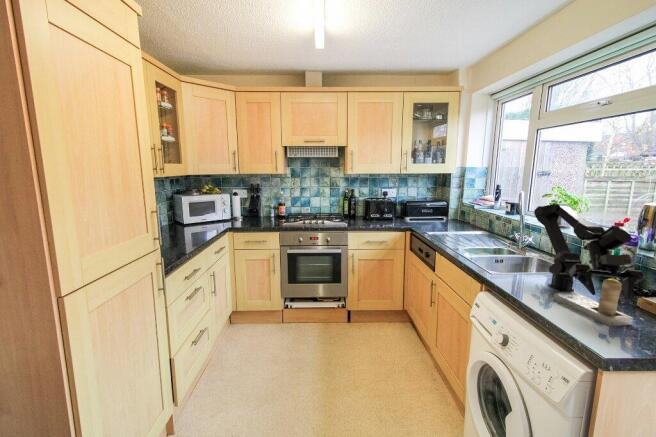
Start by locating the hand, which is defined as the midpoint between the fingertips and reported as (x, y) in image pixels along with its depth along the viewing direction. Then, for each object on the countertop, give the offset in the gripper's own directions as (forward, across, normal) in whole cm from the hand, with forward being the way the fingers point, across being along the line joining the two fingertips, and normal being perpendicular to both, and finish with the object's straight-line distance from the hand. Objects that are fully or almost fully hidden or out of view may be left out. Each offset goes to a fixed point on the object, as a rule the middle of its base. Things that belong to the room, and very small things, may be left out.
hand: (611, 297), depth 98 cm
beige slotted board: (+2, -3, +10) cm, 10 cm away
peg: (+5, 0, +6) cm, 8 cm away
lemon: (-11, +11, +22) cm, 27 cm away
